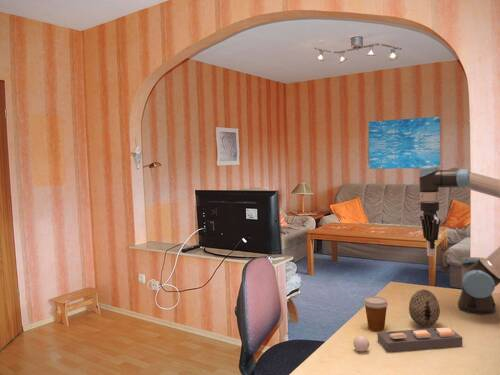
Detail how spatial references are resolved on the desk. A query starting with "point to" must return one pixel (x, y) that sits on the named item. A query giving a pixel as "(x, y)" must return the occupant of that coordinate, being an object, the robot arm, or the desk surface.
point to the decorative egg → (424, 308)
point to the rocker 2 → (445, 332)
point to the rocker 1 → (398, 335)
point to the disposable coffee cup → (376, 312)
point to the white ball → (361, 343)
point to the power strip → (417, 341)
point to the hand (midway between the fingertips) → (431, 255)
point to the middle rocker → (421, 334)
